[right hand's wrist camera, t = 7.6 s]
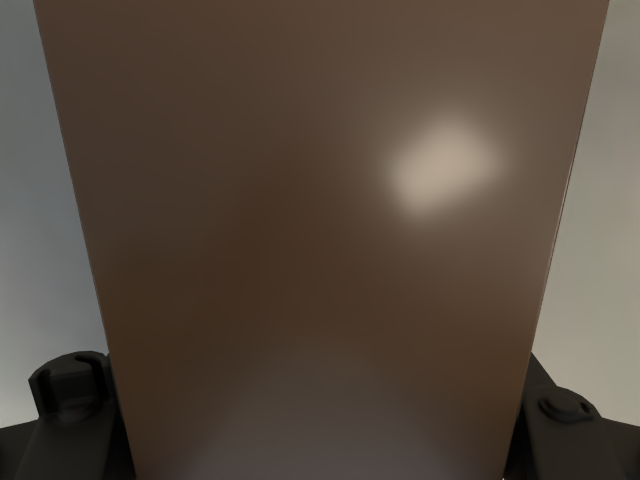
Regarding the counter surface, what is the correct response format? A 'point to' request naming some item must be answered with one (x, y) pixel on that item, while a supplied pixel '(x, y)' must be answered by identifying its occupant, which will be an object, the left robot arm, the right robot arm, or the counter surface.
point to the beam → (320, 222)
